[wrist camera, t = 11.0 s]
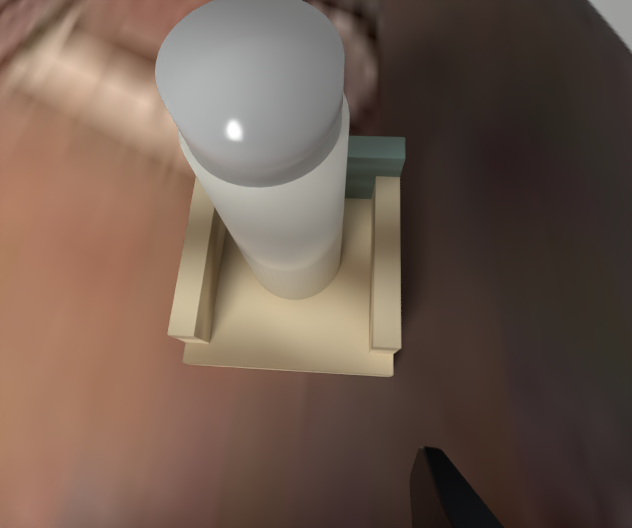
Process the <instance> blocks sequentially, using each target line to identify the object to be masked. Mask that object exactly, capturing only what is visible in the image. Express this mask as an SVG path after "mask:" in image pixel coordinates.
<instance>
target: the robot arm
mask: <svg viewBox="0 0 632 528" xmlns="http://www.w3.org/2000/svg"><path fill="white" fill-rule="evenodd" d="M410 497H411V512H412V526H413V528H504V527H503V526H502V524H501V523H500V522H499V521H498V519H497V518H496V517H495V516H494V514H493V513H492V512H491V511H490V509H489V508H488V507H487V506H486V504H485V503H484V502H483V501H482V499H481V498H480V497H479V496H478V494H477V493H476V492H475V491H474V489H473V488H472V487H471V486H470V484H469V483H468V482H467V481H466V480H465V478H464V477H463V476H462V475H461V473H460V472H459V471H458V470H457V468H456V467H455V466H454V465H453V463H452V462H451V461H450V460H449V458H448V457H447V456H446V455H445V453H444V452H443V451H442V450H441V449H439V448H434V447H427V446H421V447H420V448H419V450H418V452H417V455H416V459H415V462H414V465H413V468H412V471H411V475H410Z"/></svg>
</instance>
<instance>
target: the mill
mask: <svg viewBox="0 0 632 528" xmlns="http://www.w3.org/2000/svg"><path fill="white" fill-rule="evenodd" d="M344 62H345V55H344V47H343V44H342V41H341V38H340V36H339V34H338V32H337V30H336V28H335V27H334V25H333V24H332V22H331V21H330V20H329V19H328V18H327V17H326V16H325V15H324V14H323V13H321V12H320V11H319V10H318V9H316V8H315V7H313V6H311V5H310V4H308V3H306V2H304V1H302V0H214V1H211V2H209V3H207V4H205V5H203V6H201V7H199V8H197V9H196V10H194V11H192V12H191V13H189V14H188V15H187V16H186V17H184V18H183V19H182V20H181V21H180V22H179V23H178V24H177V25H176V26H175V27H174V28H173V29H172V30H171V32H170V33H169V34H168V35H167V37H166V39H165V40H164V42H163V44H162V46H161V48H160V51H159V53H158V57H157V61H156V69H155V76H156V84H157V88H158V91H159V94H160V96H161V98H162V100H163V102H164V104H165V106H166V108H167V109H168V111H169V113H170V115H171V117H172V118H173V120H174V122H175V124H176V126H177V128H178V137H179V142H180V146H181V149H182V151H183V153H184V155H185V157H186V159H187V161H188V163H189V164H190V166H191V168H192V169H193V171H194V173H195V174H196V176H197V178H198V180H199V181H200V183H201V185H202V186H203V188H204V190H205V191H206V193H207V195H208V197H209V198H210V200H211V202H212V203H213V205H214V207H215V209H216V210H217V212H218V214H219V215H220V217H221V219H222V220H223V222H224V224H225V226H226V227H227V229H228V231H229V232H230V234H231V236H232V237H233V239H234V241H235V243H236V244H237V246H238V248H239V249H240V251H241V253H242V255H243V256H244V258H245V260H246V261H247V263H248V265H249V266H250V268H251V270H252V272H253V273H254V275H255V277H256V278H257V280H258V281H259V283H260V284H261V285H262V286H263V287H264V288H265V289H266V290H267V291H268V292H270V293H271V294H273V295H275V296H277V297H280V298H284V299H289V300H300V299H306V298H309V297H312V296H314V295H316V294H318V293H320V292H322V291H323V290H324V289H325V288H327V287H328V286H329V285H330V283H331V282H332V281H333V279H334V278H335V276H336V274H337V272H338V269H339V266H340V260H341V244H342V229H343V214H344V198H345V183H346V168H347V152H348V137H349V119H350V115H349V107H348V103H347V100H346V97H345V95H344V93H343V88H344Z"/></svg>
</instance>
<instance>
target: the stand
mask: <svg viewBox="0 0 632 528" xmlns="http://www.w3.org/2000/svg"><path fill="white" fill-rule="evenodd" d="M404 162H405V137H382V136H349V137H348V152H347V168H346V183H345V198H344V214H343V229H342V244H341V260H340V266H339V269H338V272H337V274H336V276H335V278H334V279H333V281H332V282H331V283H330V285H329V286H328V287H327V288H325V289H324V290H323V291H322V292H320V293H318V294H316V295H314V296H312V297H309V298H306V299H300V300H289V299H284V298H280V297H277V296H275V295H273V294H271V293H270V292H268V291H267V290H266V289H265V288H264V287H263V286H262V285H261V284H260V283H259V281H258V280H257V278H256V277H255V275H254V273H253V272H252V270H251V268H250V266H249V265H248V263H247V261H246V260H245V258H244V256H243V255H242V253H241V251H240V249H239V248H238V246H237V244H236V243H235V241H234V239H233V237H232V236H231V234H230V232H229V231H228V229H227V227H226V226H225V224H224V222H223V220H222V219H221V217H220V215H219V214H218V212H217V210H216V209H215V207H214V205H213V203H212V202H211V200H210V198H209V197H208V195H207V193H206V191H205V190H204V188H203V186H202V185H201V183H200V181H199V180H198V178H197V176H196V180H195V185H194V191H193V196H192V202H191V207H190V213H189V218H188V224H187V229H186V235H185V240H184V246H183V251H182V257H181V262H180V268H179V273H178V279H177V284H176V290H175V295H174V301H173V306H172V312H171V317H170V323H169V328H168V334H167V335H169V336H172V337H174V338H177V339H179V340H181V341H184V342H186V344H185V350H184V356H183V362H182V363H186V364H190V365H203V366H220V367H236V368H252V369H269V370H285V371H302V372H318V373H334V374H351V375H367V376H384V377H391V376H393V354H394V353H395V352H397V351H398V350H399V349H400V348H401V262H400V175H401V172H402V168H403V165H404Z"/></svg>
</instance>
